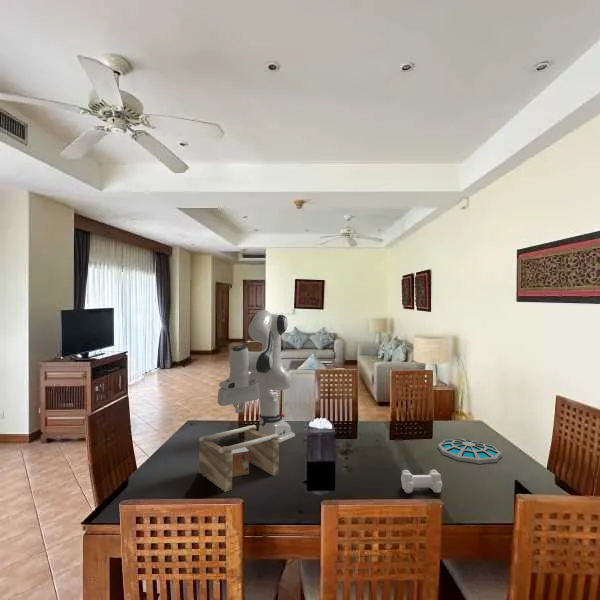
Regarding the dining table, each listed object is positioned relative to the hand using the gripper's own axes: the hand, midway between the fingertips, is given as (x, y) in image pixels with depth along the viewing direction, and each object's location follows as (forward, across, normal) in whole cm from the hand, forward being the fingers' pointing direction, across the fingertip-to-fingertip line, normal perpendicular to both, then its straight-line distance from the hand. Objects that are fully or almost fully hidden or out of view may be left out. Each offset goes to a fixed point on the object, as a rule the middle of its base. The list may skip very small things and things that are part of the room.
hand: (239, 412), depth 174 cm
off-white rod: (+12, 0, +9) cm, 15 cm away
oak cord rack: (+28, 0, 0) cm, 28 cm away
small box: (+28, 0, 0) cm, 28 cm away
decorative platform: (+28, -105, +55) cm, 122 cm away
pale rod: (+12, 0, -9) cm, 15 cm away
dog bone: (+28, -49, +63) cm, 84 cm away
